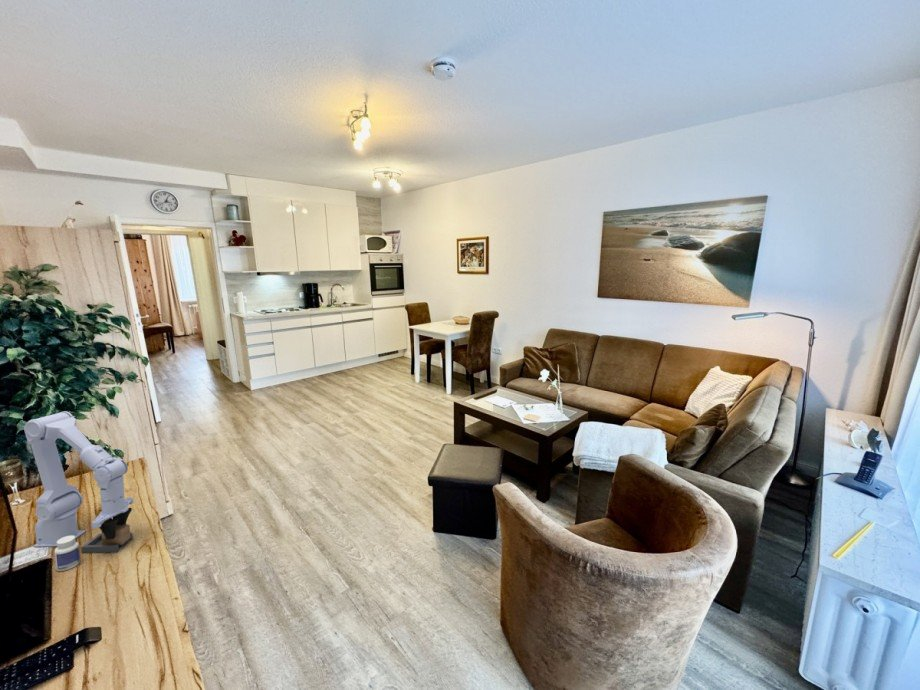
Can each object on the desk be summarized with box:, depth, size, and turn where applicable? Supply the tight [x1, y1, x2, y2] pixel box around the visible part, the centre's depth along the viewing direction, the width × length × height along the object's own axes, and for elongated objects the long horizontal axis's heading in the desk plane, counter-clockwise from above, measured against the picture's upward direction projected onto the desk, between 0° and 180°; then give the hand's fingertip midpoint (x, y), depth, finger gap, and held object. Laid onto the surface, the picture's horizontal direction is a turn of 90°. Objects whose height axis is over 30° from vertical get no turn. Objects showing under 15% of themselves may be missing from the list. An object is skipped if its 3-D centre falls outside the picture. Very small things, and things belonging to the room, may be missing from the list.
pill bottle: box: [53, 535, 81, 572], centre depth 115 cm, size 5×5×9 cm
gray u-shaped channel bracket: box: [80, 532, 134, 554], centre depth 125 cm, size 10×7×2 cm, turn 96°
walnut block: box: [101, 524, 131, 545], centre depth 125 cm, size 6×4×5 cm, turn 96°
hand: (115, 534), depth 125 cm, fingers closed on walnut block, 3 cm apart
